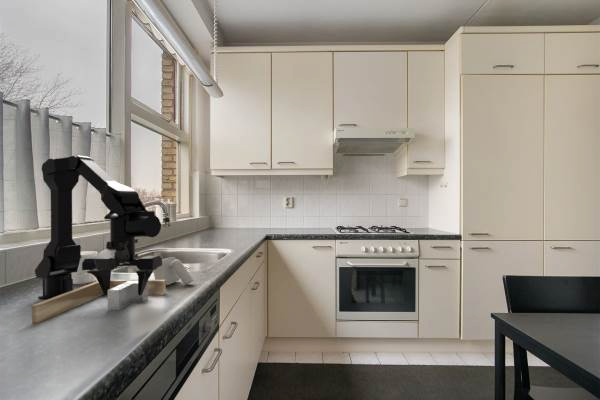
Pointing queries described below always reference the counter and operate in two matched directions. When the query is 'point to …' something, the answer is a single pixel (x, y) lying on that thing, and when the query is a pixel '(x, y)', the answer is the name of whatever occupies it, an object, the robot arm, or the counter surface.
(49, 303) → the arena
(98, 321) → the counter surface
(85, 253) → the white cup
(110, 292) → the bracket
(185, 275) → the wall hook
